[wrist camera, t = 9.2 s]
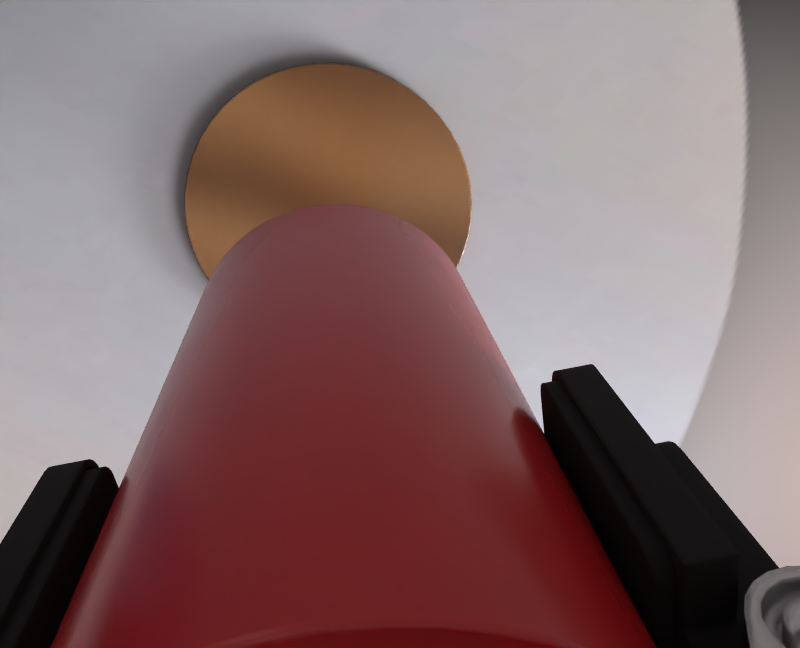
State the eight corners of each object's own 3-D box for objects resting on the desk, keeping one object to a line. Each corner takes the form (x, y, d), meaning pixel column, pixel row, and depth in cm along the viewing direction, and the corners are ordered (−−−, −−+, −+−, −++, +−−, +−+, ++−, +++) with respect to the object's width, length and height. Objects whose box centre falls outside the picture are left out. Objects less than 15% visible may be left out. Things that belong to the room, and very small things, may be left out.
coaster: (198, 34, 23) (196, 35, 22) (499, 93, 24) (502, 95, 24) (176, 321, 26) (174, 325, 26) (438, 355, 28) (439, 360, 28)
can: (211, 179, 14) (-64, 589, 4) (500, 228, 15) (855, 652, 5) (187, 437, 16) (-29, 1111, 6) (441, 464, 17) (603, 1084, 7)
